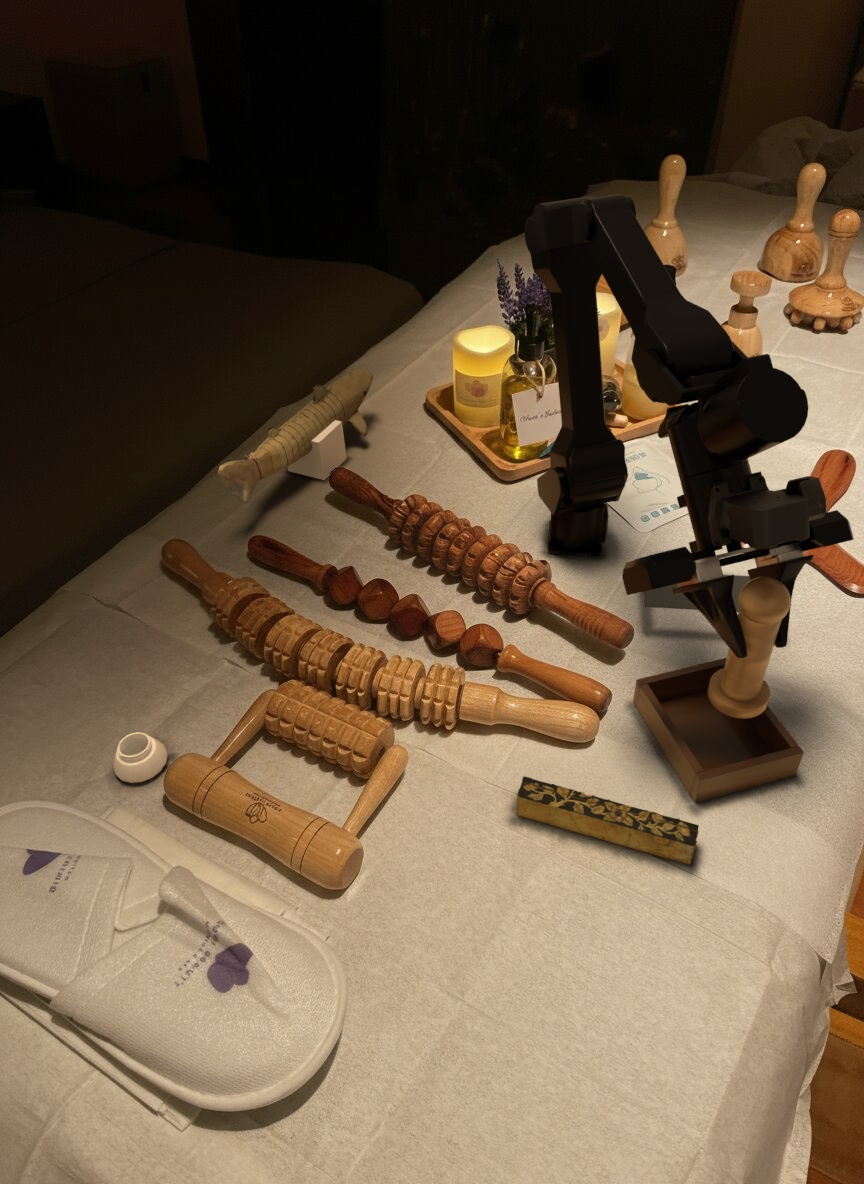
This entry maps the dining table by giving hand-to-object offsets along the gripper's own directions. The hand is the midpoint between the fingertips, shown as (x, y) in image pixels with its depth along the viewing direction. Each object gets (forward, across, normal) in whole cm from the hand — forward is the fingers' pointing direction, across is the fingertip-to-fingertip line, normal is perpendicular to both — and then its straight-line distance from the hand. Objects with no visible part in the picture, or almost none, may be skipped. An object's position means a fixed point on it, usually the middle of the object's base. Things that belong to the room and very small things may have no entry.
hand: (761, 652), depth 73 cm
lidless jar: (-2, -54, +22) cm, 58 cm away
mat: (-4, +9, +23) cm, 25 cm away
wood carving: (-34, -28, +54) cm, 70 cm away
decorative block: (+12, -15, +7) cm, 21 cm away
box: (+8, -1, +11) cm, 14 cm away
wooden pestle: (+4, 0, +6) cm, 7 cm away
